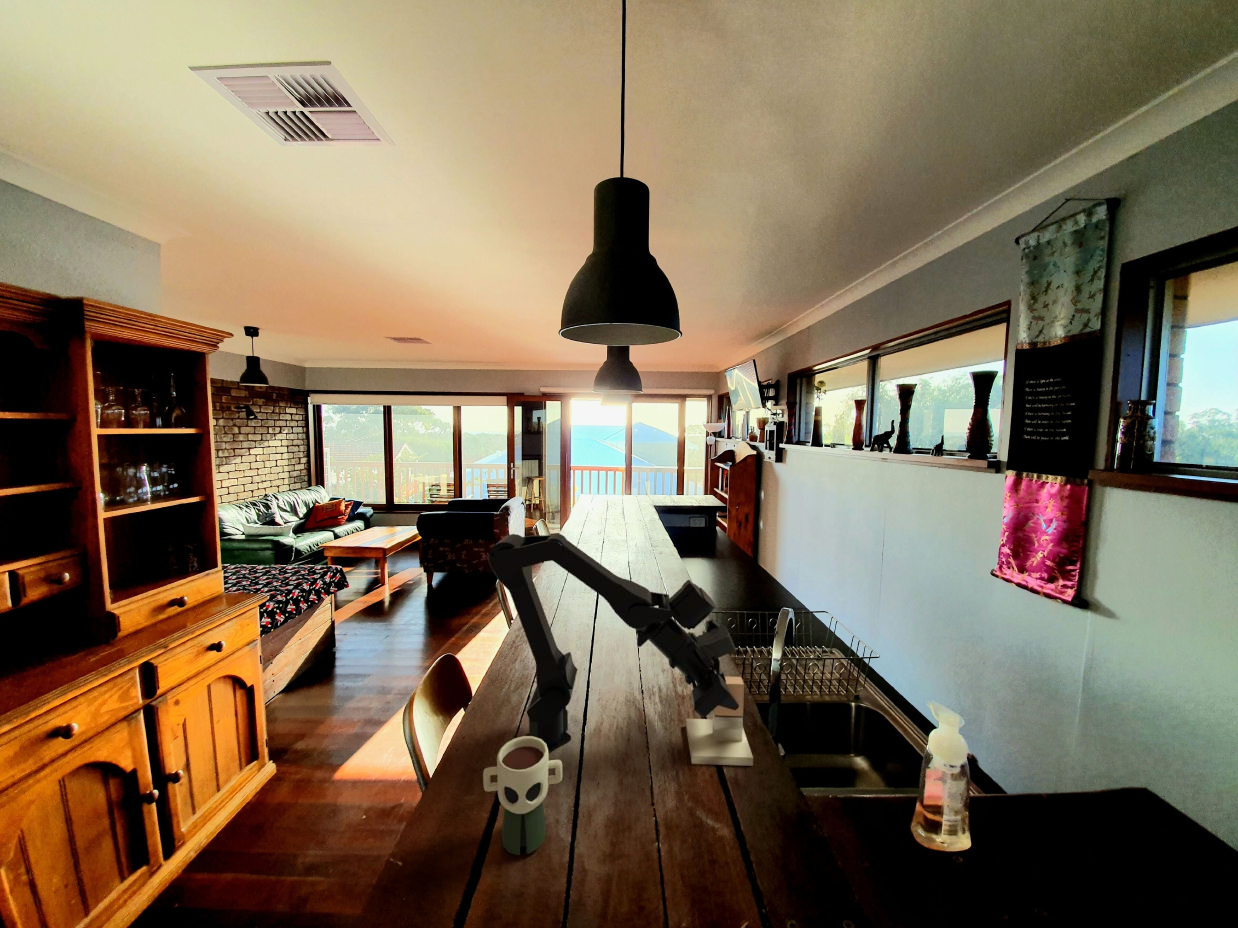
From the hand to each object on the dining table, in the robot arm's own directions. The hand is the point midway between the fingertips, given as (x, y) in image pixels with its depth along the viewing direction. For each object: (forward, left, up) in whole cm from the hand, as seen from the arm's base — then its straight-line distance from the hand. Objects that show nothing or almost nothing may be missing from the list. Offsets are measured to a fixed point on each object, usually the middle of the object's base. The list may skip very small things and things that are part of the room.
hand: (735, 703), depth 84 cm
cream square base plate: (-2, +2, -8) cm, 9 cm away
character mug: (-38, +9, -8) cm, 41 cm away
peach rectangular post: (-1, +1, -2) cm, 2 cm away
